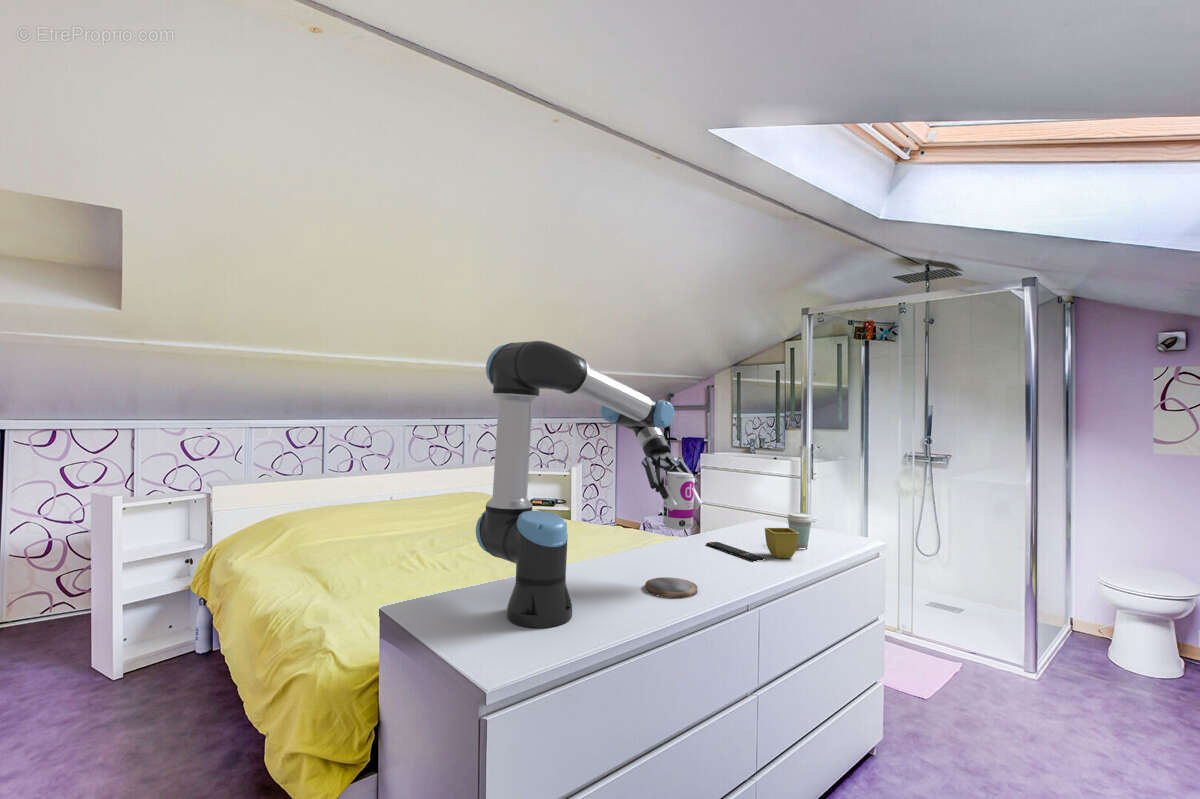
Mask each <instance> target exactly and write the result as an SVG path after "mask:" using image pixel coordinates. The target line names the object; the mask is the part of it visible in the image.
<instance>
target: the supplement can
mask: <svg viewBox="0 0 1200 799" xmlns="http://www.w3.org/2000/svg"><path fill="white" fill-rule="evenodd" d="M693 475H694V473H693V472H692V473H686V472H668V471H667V473H666V475H665V476H664V486H665V485H667V486H668V488H669V490H670V492H671V494H672V495H673V497H674V499H675V501H676V503H677V505H676V507H675V508H674V509H673V510H672V511H670V509H669V507H668V505H667V503H666V501H665V499H663V518H662V520H663V521H662V523H663V525H664V526H665V527H666V528H668V529H673V530H690V529H691V528H692V527H693V526H694V510H695V507H694V485H695V479H694V477H693ZM695 486H696V485H695Z"/></svg>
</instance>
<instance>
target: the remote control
mask: <svg viewBox="0 0 1200 799" xmlns="http://www.w3.org/2000/svg"><path fill="white" fill-rule="evenodd" d="M705 544H706V546H707V545H709V546H708V547H710V546H711V548H713V547H714V549H716V548H717V549H716V550H718V549H720V550H719V551H721V550H723V551H722V552H724V551H726V552H725V553H727V552H728V553H727V554H730V553H732V554H731V555H733V554H734V555H733V556H736V555H737V556H736V557H738V556H740V557H739V558H741V557H742V558H741V559H744V558H745V559H744V560H747V559H748V560H747V561H750V560H751V561H750V562H753V561H756V562H758V561H757V560H763V559H765V557H764V556H761V555H758V554H755V553H752V552H748V551H746V550H743V549H740V548H737V547H734V546H732V545H728V544H725V543H722V542H719V541H709V542H706V543H705ZM763 561H764V560H763Z"/></svg>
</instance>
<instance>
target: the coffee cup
mask: <svg viewBox="0 0 1200 799" xmlns="http://www.w3.org/2000/svg"><path fill="white" fill-rule="evenodd" d="M786 519H787V521H788V522H787V523H788V528H790V529H792V530H794V531H796V532H798V533H799V537H798V544H797V548H807V547H809V540H810V534H811V533H810V531H811V526H812V522H813V520H812V519H813V518H812V516H811V515H810V514H808V513H804V512H790V513H788V515H787V517H786ZM807 549H808V548H807Z"/></svg>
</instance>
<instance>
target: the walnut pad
mask: <svg viewBox="0 0 1200 799" xmlns="http://www.w3.org/2000/svg"><path fill="white" fill-rule="evenodd" d="M644 586H645V591H646V590H647V591H648V592H647V591H646V592H647V593H649V594H651V595H653V594H654V595H653V596H656V595H659V596H658V597H660V596H663V597H662V598H665V597H672V598H671V599H686V598H685V597H687V598H691V597H693V596H695V595H696V594H697V593H698V585H697V584H696V583H695V582H694V581H690V580H688V579H684V578H677V577H665V576H664V577H656V578H651V579H649V580H648V579H647V581H645V584H644ZM683 597H684V598H683Z"/></svg>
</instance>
